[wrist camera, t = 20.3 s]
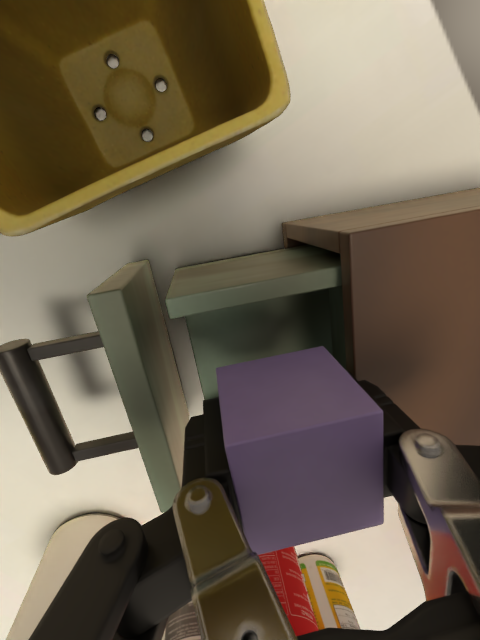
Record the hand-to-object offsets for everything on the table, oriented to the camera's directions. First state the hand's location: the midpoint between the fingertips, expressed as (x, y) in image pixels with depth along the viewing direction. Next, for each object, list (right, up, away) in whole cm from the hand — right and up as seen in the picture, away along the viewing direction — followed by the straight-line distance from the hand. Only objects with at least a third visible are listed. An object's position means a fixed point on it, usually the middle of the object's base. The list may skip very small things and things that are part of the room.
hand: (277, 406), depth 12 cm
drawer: (-4, +2, +7) cm, 8 cm away
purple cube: (0, 0, 0) cm, 0 cm away
